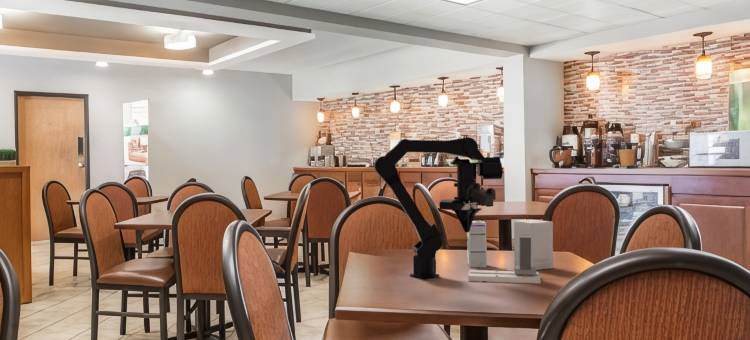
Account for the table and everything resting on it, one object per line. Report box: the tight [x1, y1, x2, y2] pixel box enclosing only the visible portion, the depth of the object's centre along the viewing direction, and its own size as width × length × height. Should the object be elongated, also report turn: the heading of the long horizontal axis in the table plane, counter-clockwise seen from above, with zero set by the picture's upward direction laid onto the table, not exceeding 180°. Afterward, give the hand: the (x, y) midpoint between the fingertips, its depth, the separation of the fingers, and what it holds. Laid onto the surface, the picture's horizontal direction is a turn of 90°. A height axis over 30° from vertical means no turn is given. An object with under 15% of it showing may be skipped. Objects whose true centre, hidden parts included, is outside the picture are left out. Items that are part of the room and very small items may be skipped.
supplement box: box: [513, 219, 554, 271], centre depth 190 cm, size 9×9×15 cm
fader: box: [513, 235, 537, 275], centre depth 170 cm, size 6×6×11 cm
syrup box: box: [466, 220, 488, 268], centre depth 193 cm, size 6×6×14 cm
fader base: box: [467, 269, 542, 284], centre depth 172 cm, size 20×9×2 cm, turn 79°
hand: (467, 232), depth 177 cm, fingers closed
